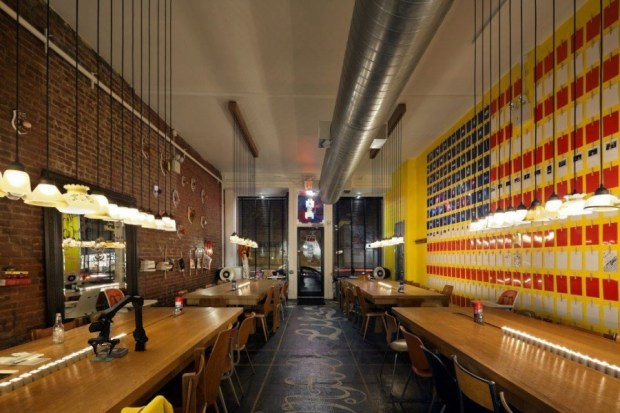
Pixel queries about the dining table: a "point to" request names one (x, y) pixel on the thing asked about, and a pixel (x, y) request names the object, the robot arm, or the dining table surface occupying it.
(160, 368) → the dining table surface
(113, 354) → the housing
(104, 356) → the ash cube
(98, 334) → the milk carton
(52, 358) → the dining table surface
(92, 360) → the teal mat
